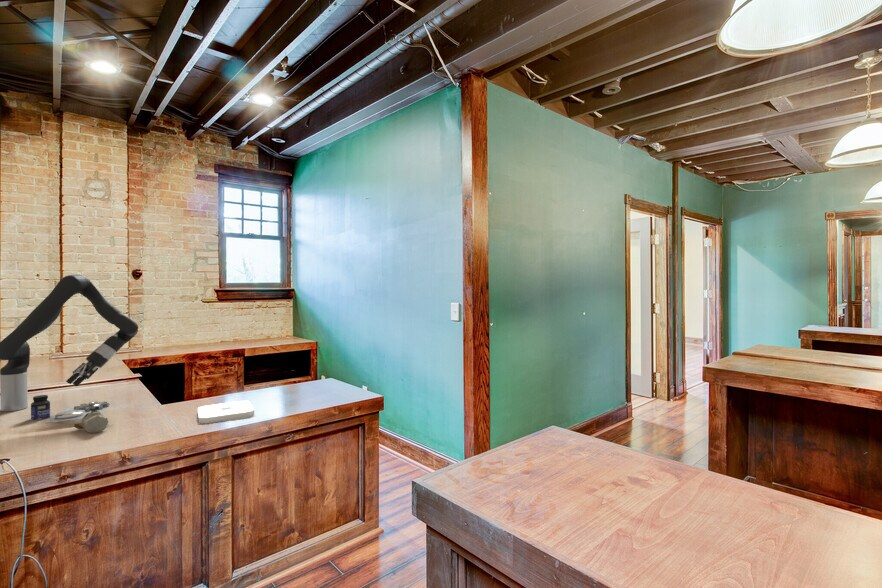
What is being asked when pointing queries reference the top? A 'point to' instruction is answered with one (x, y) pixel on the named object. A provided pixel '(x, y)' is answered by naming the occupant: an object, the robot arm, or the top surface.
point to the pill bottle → (40, 408)
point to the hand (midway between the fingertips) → (71, 384)
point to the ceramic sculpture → (93, 422)
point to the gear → (91, 406)
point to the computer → (225, 411)
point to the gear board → (72, 418)
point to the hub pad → (70, 414)
